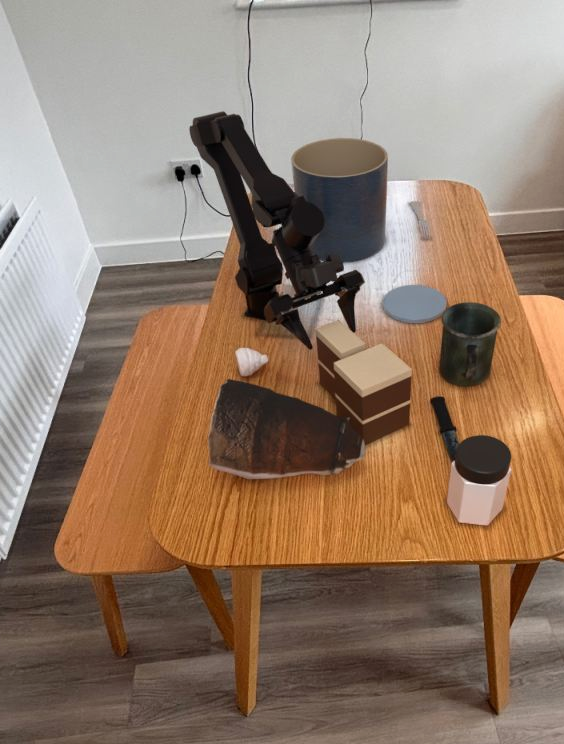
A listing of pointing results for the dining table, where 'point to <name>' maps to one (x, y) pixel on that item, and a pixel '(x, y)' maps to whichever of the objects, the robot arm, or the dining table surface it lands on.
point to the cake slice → (334, 350)
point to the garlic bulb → (249, 361)
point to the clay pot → (277, 435)
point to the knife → (446, 425)
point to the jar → (479, 479)
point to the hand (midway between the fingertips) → (333, 340)
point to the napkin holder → (289, 291)
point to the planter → (345, 194)
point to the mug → (468, 343)
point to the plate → (414, 304)
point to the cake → (373, 392)
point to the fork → (417, 209)
